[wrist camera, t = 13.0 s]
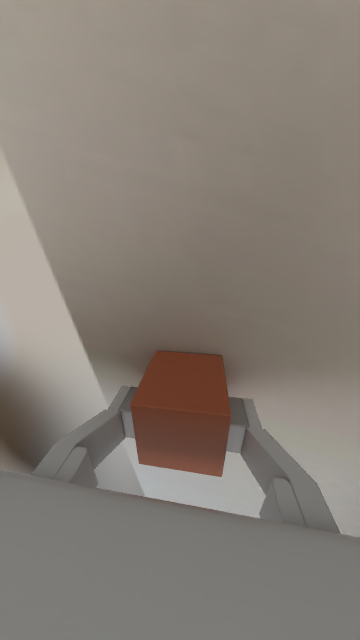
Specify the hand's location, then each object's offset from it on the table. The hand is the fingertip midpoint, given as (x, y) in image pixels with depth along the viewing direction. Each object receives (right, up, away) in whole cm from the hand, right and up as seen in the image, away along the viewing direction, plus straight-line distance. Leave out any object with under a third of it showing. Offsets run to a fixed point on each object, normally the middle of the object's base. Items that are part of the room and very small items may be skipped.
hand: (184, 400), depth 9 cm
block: (0, +1, +2) cm, 2 cm away
